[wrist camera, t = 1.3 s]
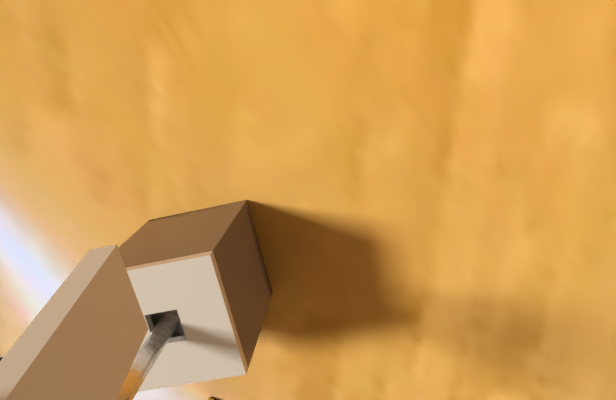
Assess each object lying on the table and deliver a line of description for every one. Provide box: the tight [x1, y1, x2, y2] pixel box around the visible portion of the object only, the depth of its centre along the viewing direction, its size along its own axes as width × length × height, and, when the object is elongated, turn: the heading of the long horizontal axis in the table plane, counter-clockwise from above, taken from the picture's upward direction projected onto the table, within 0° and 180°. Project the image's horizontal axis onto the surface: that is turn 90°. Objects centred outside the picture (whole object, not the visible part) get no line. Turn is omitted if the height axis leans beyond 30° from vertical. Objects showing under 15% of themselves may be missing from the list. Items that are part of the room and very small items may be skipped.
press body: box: [118, 200, 272, 392], centre depth 48 cm, size 10×13×14 cm
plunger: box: [116, 310, 185, 400], centre depth 35 cm, size 7×7×20 cm
